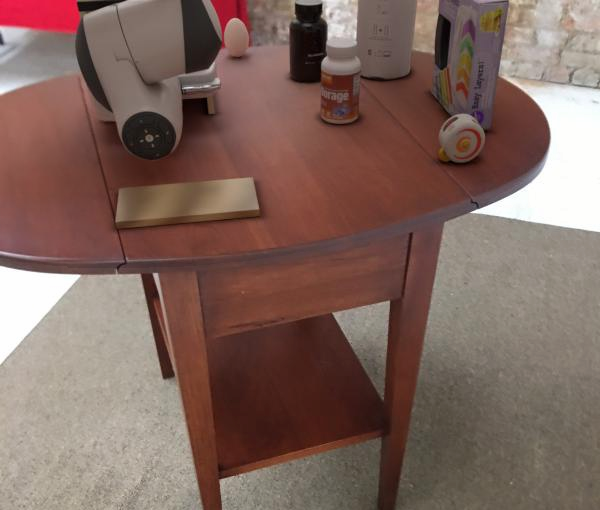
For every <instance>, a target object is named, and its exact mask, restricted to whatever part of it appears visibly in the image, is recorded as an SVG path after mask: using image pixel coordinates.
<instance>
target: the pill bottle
mask: <svg viewBox="0 0 600 510" xmlns="http://www.w3.org/2000/svg"><path fill="white" fill-rule="evenodd" d="M326 53H327V57H325V58H324V59H323V61H322V64H321V80H320V117H321V119H322V120H323V121H324V122H326V123H330V124H337V125H343V124H344V125H345V124H350V123H353V122H355V121H356V120H357V119H358V118H359V111H360V91H361V77H362V76H361V62H360V60H359V59H358V58H357V57H356V56H355V55H356V53H357V42H356V39H353V38H350V37H334V38H330V39H328V41H327V42H326Z"/></svg>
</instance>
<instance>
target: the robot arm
mask: <svg viewBox="0 0 600 510" xmlns="http://www.w3.org/2000/svg"><path fill="white" fill-rule="evenodd" d="M223 43H224V40H223V32H222V27H221V23H220V18H219V16H218V14H217V12H216V9H215V7H214V5H213V3H212V1H211V0H127V1H124V2H121V3H115V4H112V5H109V6H107V7H104V8H101V9H98V10H95V11H93V12H90V13H88V14H85V15H83V16H82V18H81V19H79V22H78V25H77V29H76V34H75V40H74V48H75V56H76V60H77V64H78V67H79V70H80V72H81V76H82V77H83V80H84V82H85V85H86V88H87V92H88V95H89V99H90V103H91V106H93V109H94V111H95V115H96V117H97V119H98V120H99V121H104V122H105V121H108V122H115V124H116V128H117V132H118V133H117V134H118V137H119V139H120V141H121V144H122V146H123V147H124V148H125V150H126V151H127V152H128V153H129V154H131V155H132V156H134V157H135V158H138V159H140V160H144V161H150V162H151V161H159V160H163V159H165V158H167V157H168V156H170V155H171V154H172V153H173V152H174V151H175V150H176V148H177V147H178V146H179V144H180V140H181V137H182V133H183V125H184V124H183V123H184V122H183V121H184V114H183V100H189V99H191V100H192V99H203V98H204V99H205V98H207V97H210V96H212V95H213V96H214V95H215V94H216V92H217V91H219V90H220V89H221V88H222V82H221V78H219V77H218V69H217V61H216V59H217V57H218V55H219V53H220V51H221V49H222V47H223Z"/></svg>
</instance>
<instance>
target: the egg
mask: <svg viewBox="0 0 600 510" xmlns="http://www.w3.org/2000/svg"><path fill="white" fill-rule="evenodd" d="M223 43H224V46H225V48H226V50H227V52H228V53H229V54H230V55H231V56H232V57H235V58H240V57H242V56H244V55H245V54H246V52H247V51H248V49H249V45H250V36H249V32H248V29H247V27H246V25H245V23H244V22H243V21H242V20H241V19H240V18H237V17H233V18H231V19H230V20H229V21H228V22H227V23H226V26H225V29H224V32H223Z"/></svg>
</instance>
